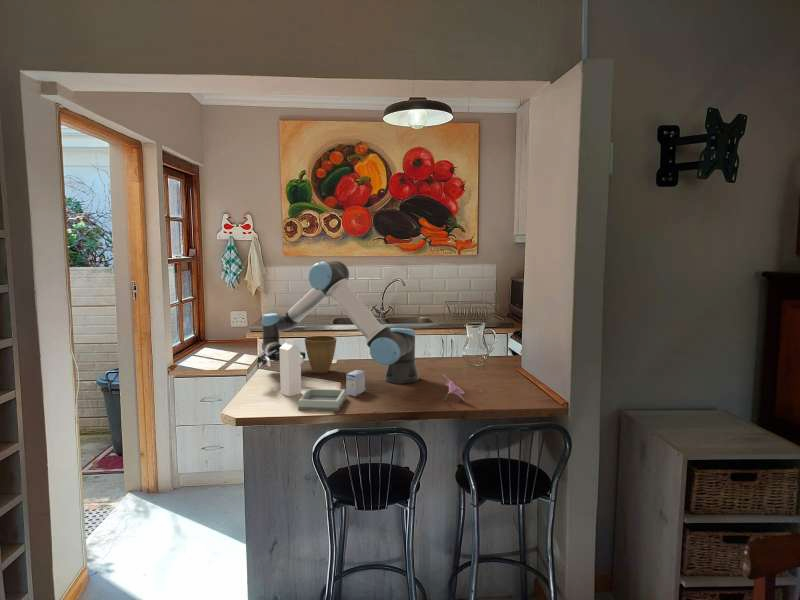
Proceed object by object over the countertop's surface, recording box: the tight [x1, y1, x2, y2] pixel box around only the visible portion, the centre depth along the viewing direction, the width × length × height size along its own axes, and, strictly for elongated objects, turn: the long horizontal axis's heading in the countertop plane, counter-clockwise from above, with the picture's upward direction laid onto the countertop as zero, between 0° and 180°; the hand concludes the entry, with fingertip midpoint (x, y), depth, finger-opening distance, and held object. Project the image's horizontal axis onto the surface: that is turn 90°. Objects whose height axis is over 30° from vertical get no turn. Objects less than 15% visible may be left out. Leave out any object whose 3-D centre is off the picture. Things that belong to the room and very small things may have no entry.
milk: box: [279, 338, 302, 397], centre depth 205 cm, size 6×6×22 cm
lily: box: [442, 373, 465, 401], centre depth 198 cm, size 12×12×10 cm
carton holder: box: [297, 388, 347, 412], centre depth 193 cm, size 15×15×4 cm
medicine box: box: [345, 369, 366, 397], centre depth 206 cm, size 8×4×9 cm, turn 155°
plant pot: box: [304, 335, 337, 374], centre depth 239 cm, size 15×15×16 cm
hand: (286, 361), depth 210 cm, fingers open, 13 cm apart
